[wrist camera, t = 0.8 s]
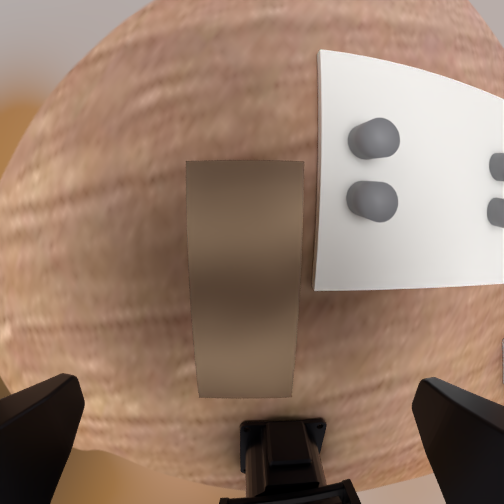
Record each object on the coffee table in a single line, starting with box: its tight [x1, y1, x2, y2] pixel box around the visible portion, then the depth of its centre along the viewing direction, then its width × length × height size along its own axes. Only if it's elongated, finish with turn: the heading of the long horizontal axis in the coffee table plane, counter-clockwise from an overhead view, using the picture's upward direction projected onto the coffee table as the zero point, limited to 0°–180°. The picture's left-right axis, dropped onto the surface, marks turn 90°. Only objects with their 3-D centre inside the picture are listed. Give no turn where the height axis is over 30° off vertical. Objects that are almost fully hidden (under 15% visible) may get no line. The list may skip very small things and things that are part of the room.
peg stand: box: [312, 49, 504, 291], centre depth 16 cm, size 14×16×3 cm
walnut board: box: [186, 160, 304, 398], centre depth 16 cm, size 12×5×4 cm, turn 0°
